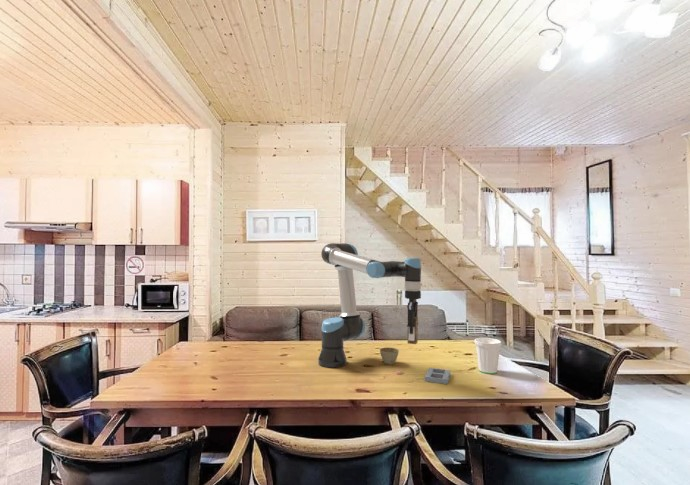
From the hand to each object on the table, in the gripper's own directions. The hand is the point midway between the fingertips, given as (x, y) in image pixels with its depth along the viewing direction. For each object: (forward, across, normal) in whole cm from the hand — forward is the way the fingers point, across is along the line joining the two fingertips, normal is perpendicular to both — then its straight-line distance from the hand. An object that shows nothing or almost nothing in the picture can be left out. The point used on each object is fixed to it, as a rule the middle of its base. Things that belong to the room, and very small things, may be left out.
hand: (412, 339), depth 170 cm
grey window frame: (+18, +4, -11) cm, 21 cm away
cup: (+18, +23, -33) cm, 44 cm away
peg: (+2, 0, 0) cm, 2 cm away
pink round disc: (+18, +4, +8) cm, 20 cm away
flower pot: (+18, +17, +16) cm, 29 cm away
